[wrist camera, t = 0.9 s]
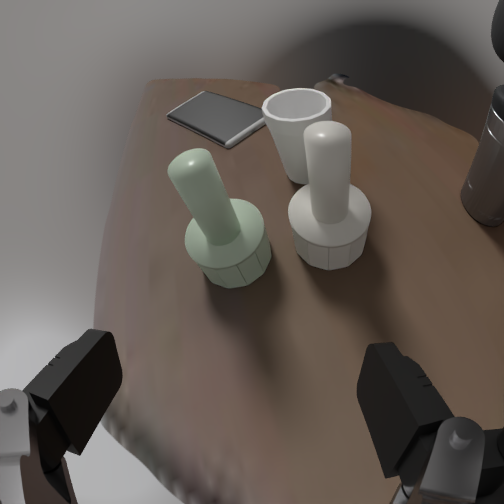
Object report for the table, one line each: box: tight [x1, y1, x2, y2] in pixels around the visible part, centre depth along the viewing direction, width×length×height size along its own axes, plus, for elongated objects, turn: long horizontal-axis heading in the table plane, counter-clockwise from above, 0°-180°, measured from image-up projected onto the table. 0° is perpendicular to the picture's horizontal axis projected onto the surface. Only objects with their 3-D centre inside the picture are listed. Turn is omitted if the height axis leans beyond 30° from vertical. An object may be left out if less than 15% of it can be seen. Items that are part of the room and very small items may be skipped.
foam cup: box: [262, 88, 332, 184], centre depth 40 cm, size 10×9×13 cm
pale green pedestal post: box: [168, 148, 272, 289], centre depth 33 cm, size 10×10×17 cm
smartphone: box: [167, 91, 266, 148], centre depth 61 cm, size 13×27×2 cm, turn 42°
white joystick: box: [288, 121, 371, 270], centre depth 31 cm, size 10×10×17 cm
